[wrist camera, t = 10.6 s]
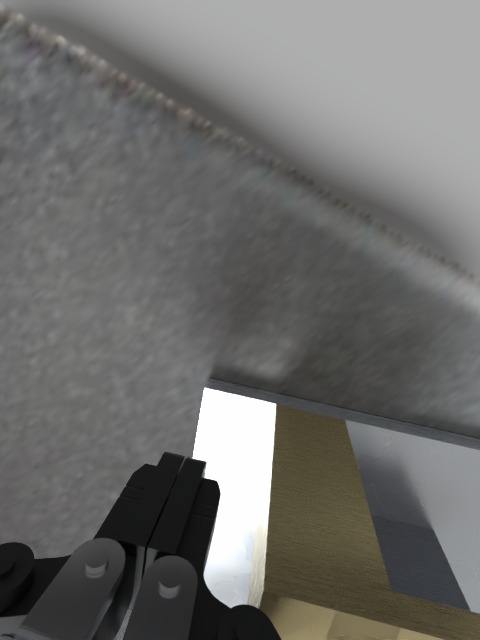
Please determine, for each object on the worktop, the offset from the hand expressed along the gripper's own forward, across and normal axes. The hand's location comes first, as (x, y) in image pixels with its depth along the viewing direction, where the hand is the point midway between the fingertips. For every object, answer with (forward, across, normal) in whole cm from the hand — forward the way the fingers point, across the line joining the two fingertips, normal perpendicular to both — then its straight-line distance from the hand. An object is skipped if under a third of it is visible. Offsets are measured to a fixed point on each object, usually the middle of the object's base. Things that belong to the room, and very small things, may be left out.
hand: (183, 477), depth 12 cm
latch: (+4, -5, +1) cm, 7 cm away
